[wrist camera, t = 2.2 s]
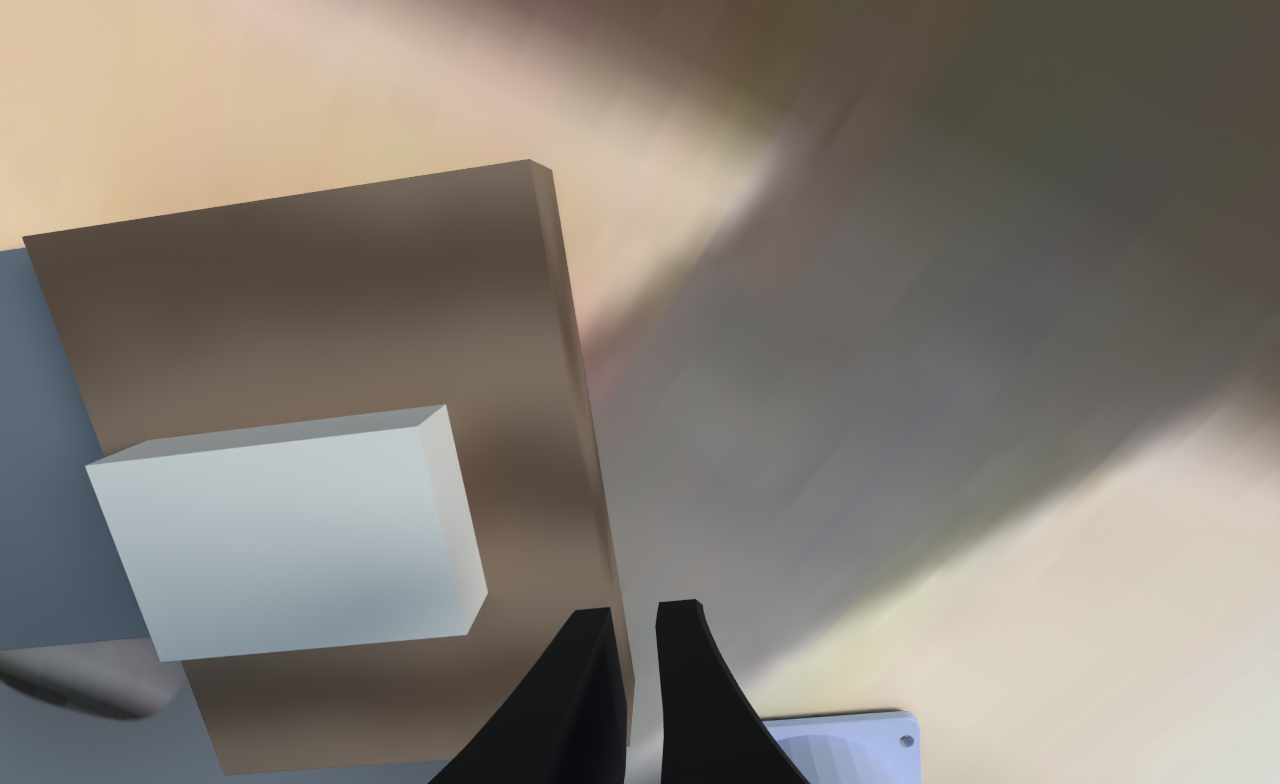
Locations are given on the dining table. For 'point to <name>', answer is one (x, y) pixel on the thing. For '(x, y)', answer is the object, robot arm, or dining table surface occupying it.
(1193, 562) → the dining table surface
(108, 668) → the dining table surface
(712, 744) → the robot arm
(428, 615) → the pale grey flat block
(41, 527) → the mat
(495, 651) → the deck
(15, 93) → the dining table surface
